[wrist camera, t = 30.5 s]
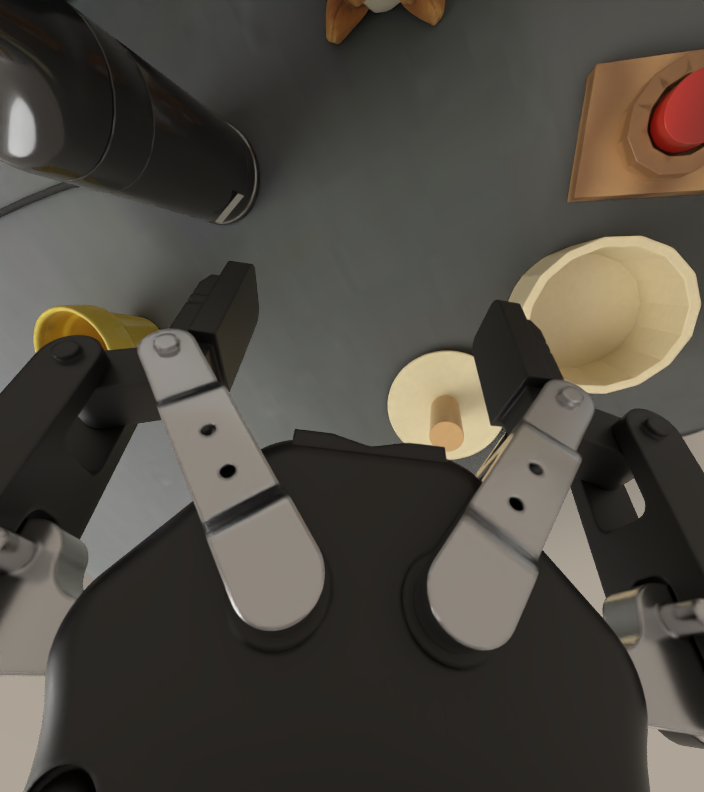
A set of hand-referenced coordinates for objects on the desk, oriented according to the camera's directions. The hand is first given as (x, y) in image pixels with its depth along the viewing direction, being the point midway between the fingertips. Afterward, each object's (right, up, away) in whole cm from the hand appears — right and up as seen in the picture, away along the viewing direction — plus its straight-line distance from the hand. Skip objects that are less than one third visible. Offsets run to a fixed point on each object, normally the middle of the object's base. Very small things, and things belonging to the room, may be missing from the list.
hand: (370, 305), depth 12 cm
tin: (+20, +5, +21) cm, 30 cm away
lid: (+10, -4, +26) cm, 28 cm away
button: (+23, +17, +13) cm, 32 cm away
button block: (+24, +18, +16) cm, 34 cm away
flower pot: (-28, +4, +34) cm, 44 cm away
